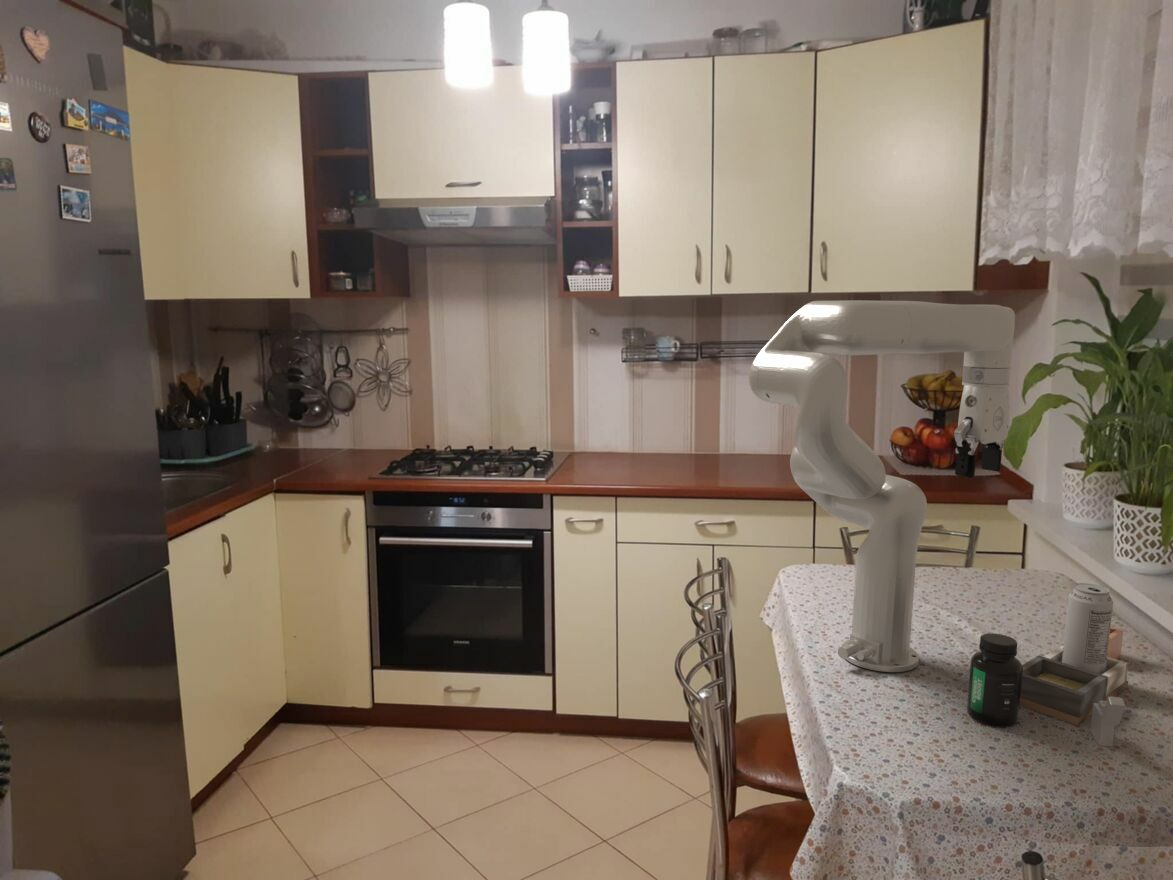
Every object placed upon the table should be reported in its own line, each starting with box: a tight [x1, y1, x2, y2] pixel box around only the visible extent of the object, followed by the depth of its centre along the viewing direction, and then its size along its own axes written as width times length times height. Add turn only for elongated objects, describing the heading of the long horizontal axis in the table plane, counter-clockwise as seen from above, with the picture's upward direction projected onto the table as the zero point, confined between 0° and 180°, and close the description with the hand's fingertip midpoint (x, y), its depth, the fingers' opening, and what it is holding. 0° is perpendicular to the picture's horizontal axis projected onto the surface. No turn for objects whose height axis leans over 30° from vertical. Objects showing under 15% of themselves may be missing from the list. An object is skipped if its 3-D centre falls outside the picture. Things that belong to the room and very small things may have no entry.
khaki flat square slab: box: [1036, 672, 1085, 691], centre depth 128 cm, size 7×7×1 cm
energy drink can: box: [1062, 582, 1114, 675], centre depth 133 cm, size 6×6×15 cm
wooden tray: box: [1019, 644, 1129, 726], centre depth 130 cm, size 20×10×4 cm, turn 130°
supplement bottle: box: [966, 632, 1023, 728], centre depth 122 cm, size 7×7×12 cm
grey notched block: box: [1089, 696, 1126, 748], centre depth 115 cm, size 7×2×8 cm, turn 164°
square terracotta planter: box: [1107, 626, 1124, 660], centre depth 144 cm, size 6×6×9 cm
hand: (977, 473), depth 150 cm, fingers open, 9 cm apart
